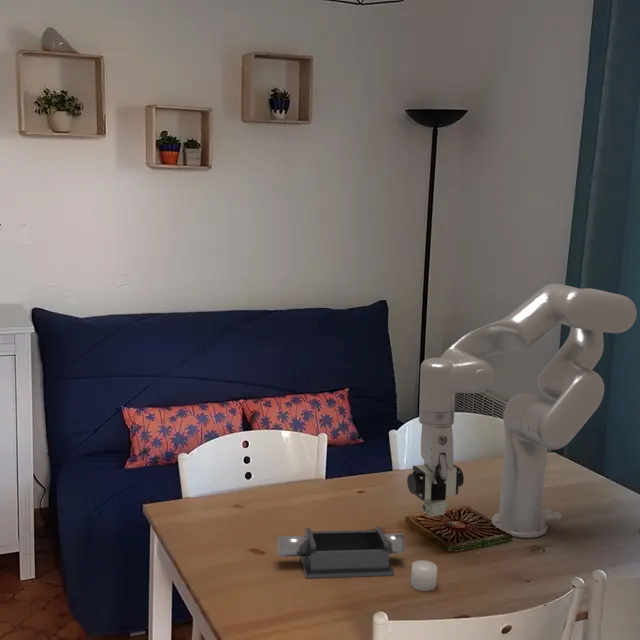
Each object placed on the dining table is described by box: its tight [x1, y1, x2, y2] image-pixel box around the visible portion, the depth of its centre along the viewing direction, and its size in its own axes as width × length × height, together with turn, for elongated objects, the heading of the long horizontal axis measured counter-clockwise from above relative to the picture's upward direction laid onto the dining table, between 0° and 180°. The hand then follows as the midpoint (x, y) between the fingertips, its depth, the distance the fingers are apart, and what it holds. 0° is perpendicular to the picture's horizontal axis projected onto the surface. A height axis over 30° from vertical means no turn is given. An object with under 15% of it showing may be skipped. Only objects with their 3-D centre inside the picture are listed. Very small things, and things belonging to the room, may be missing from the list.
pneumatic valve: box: [406, 463, 465, 518], centre depth 184 cm, size 6×12×12 cm, turn 111°
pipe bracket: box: [277, 526, 406, 579], centre depth 174 cm, size 26×12×6 cm, turn 99°
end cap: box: [410, 559, 438, 592], centre depth 166 cm, size 5×5×4 cm
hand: (434, 493), depth 184 cm, fingers closed on pneumatic valve, 5 cm apart
